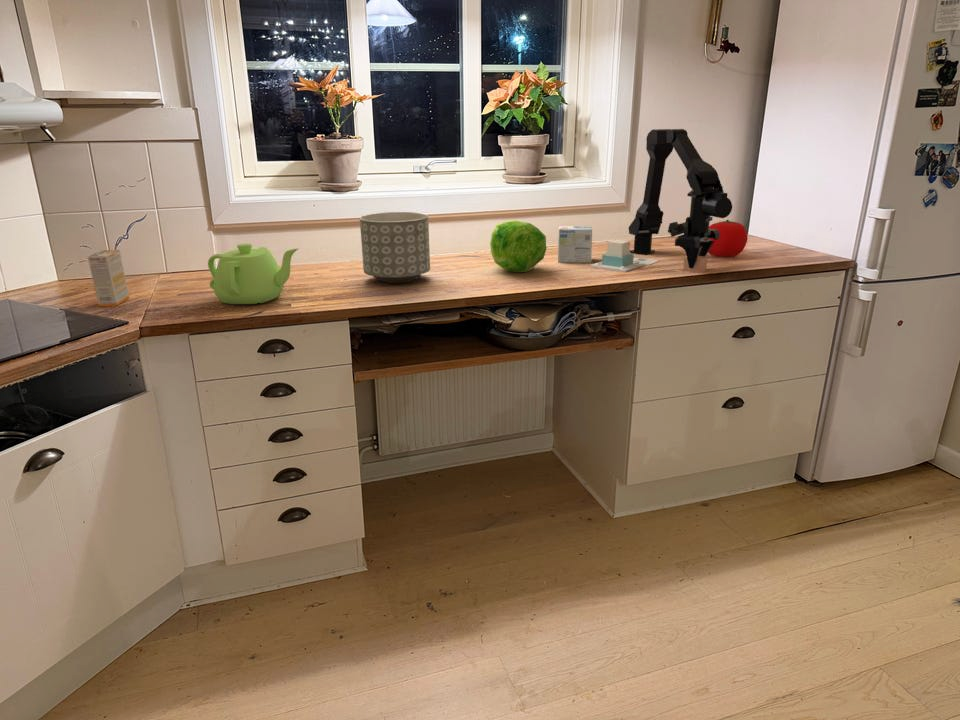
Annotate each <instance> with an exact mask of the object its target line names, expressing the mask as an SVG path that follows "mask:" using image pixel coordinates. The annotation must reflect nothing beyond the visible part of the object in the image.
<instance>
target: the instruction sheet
mask: <svg viewBox="0 0 960 720" xmlns="http://www.w3.org/2000/svg"><path fill="white" fill-rule="evenodd" d="M633 262H639V263H644V266H645V265H646V266H650V265H653V264H656V263H658V262H660V260H656V259H655V260H654V259H649V258H641V257H634V259H633Z"/></svg>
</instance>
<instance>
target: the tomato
mask: <svg viewBox="0 0 960 720" xmlns="http://www.w3.org/2000/svg"><path fill="white" fill-rule="evenodd" d="M709 229H717V230H718V231H719V232H720V236H719V239H717V240H714V238H710V241H715V242H714V244H713V245H712V247H711V248H710V250H709V251H708V253H707V254H709V255H711V256H714V257H718V258H733V257H736V256H739V255H740V254H741V253H742V252H743V251H744V250H745V247H746V245H747V244H748V243H747V242H748V232H747V230H746V227H745V226H744V225H743V224H742V223H740V222H736V221H732V220H729V219H726V220H723V221H718V222H714V223H712V224H709Z"/></svg>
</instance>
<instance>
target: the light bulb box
mask: <svg viewBox="0 0 960 720" xmlns="http://www.w3.org/2000/svg"><path fill="white" fill-rule="evenodd" d="M557 232H558V233H557V234H558V235H557V236H558V237H557V263H566V264H567V263H571V264H572V263H574V264H575V263H579V264H580V263H581V264H582V263H585V264H586V263H587V264H589V263H592V250H593V249H592V248H593V246H592V245H593V228H592V226H591V225H586V226H585V225H584V226H583V225H582V226H581V225H570V226H569V225H568V226H564V225H563V226H562V225H558V231H557Z"/></svg>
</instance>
